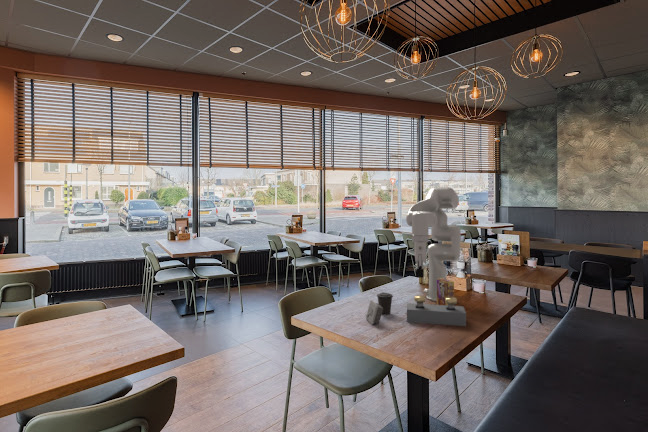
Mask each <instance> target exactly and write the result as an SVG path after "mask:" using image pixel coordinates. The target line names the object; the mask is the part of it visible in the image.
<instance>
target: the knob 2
mask: <svg viewBox="0 0 648 432" xmlns="http://www.w3.org/2000/svg"><path fill="white" fill-rule="evenodd" d="M457 299H458V298H457V297H455V296H454V297H446V298H445V302H446V303H448V310H454V306H455V305H456V304H458V303H457V301H458V300H457Z"/></svg>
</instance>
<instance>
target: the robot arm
mask: <svg viewBox="0 0 648 432" xmlns="http://www.w3.org/2000/svg"><path fill="white" fill-rule="evenodd" d="M459 201H460V199H459V196H458V193H457V192H456V191H455V190H454V189H453V187H447V186H446V187H443V186H442V187H431V188H430V189H428V191H427V192H426V194H425V197H424V198H423V200H420V201H418V202H417V203H414V204H413V205H412V206H411V207H410V208H409V210H408V212H407V214H406V218H405V220H406V225H408V226H410V227H411V242H412V243H414V259H415V263H416V271H415V272H416V274H415V275H416V278H421V279H423V278H424V273H425V271H424V270H425V269H424V264H427V261H428V288H424V289H423V293H425V294H426V295H425V299H427V300H428V301H433V302H437V279H439V278H444V279H447V266H446V264H444V262H458V261H459V260H460V257H461V256H460V255H461V242H462V241H461V239H462V234H461V228H460V227H459V226H458V225H454V224H448V215H447V213H446V212H445V209H451V210H453V209H456V208H458V207H459V203H460V202H459ZM443 209H444V210H443ZM429 228H430V229H431V231H430V233H431V235H430V237H431V239H432V240H433V241H434V242H445V243H431V244H429V245H428V246H427V243H429ZM450 243H451V244H450ZM427 257H428V260H427Z"/></svg>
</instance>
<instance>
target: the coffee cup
mask: <svg viewBox="0 0 648 432" xmlns="http://www.w3.org/2000/svg"><path fill="white" fill-rule="evenodd" d="M376 297H377V301H378V304H379V305H380V306H381V307H382V308H383V311H382V314H381V316H388V315H391V312H392V301H393V297H394V296H393V294H391V293H389V292H380V293H377V294H376Z"/></svg>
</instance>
